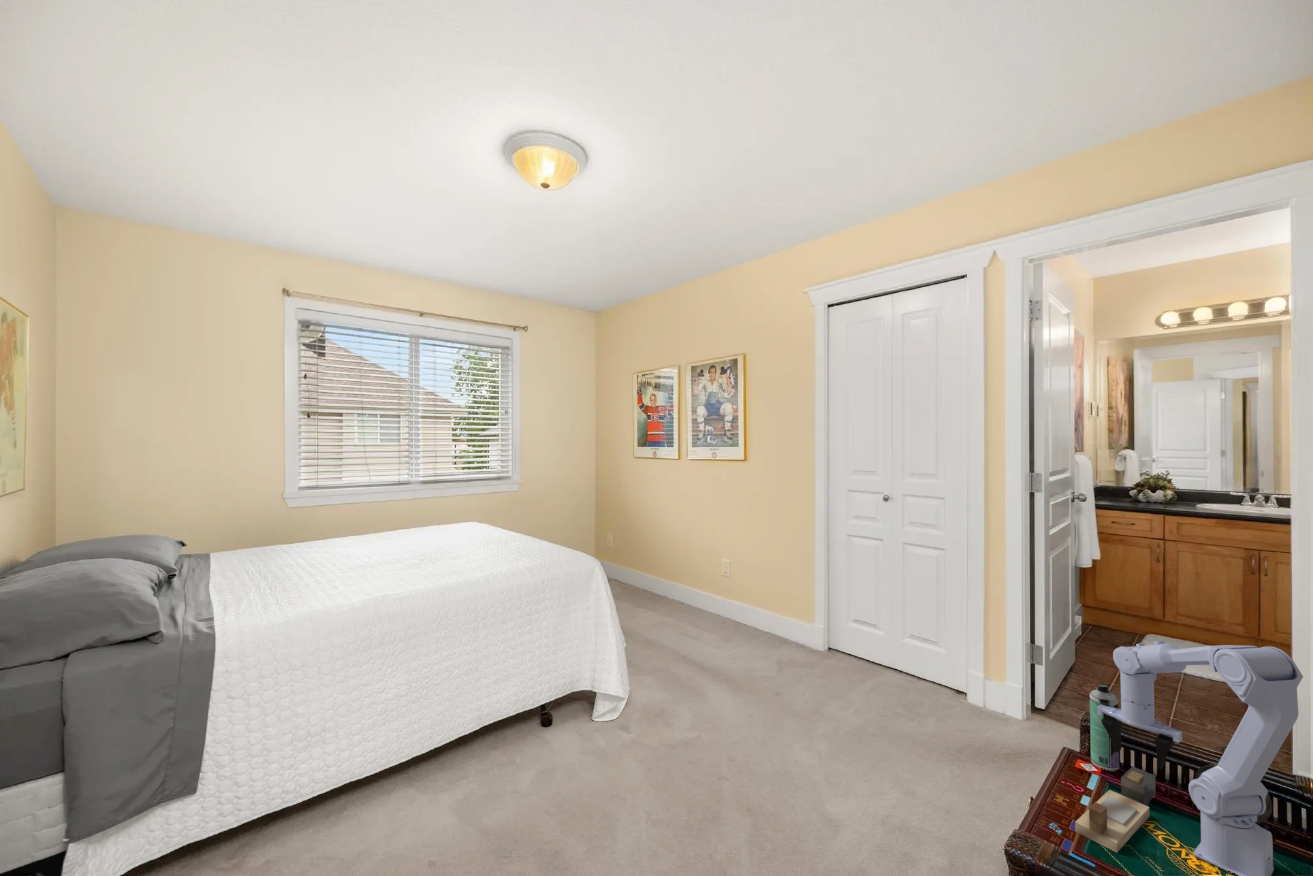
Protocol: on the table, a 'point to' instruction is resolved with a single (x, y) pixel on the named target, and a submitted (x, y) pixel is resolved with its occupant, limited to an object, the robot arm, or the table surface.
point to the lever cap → (1138, 785)
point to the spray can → (1102, 730)
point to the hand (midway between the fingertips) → (1138, 758)
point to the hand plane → (1112, 820)
